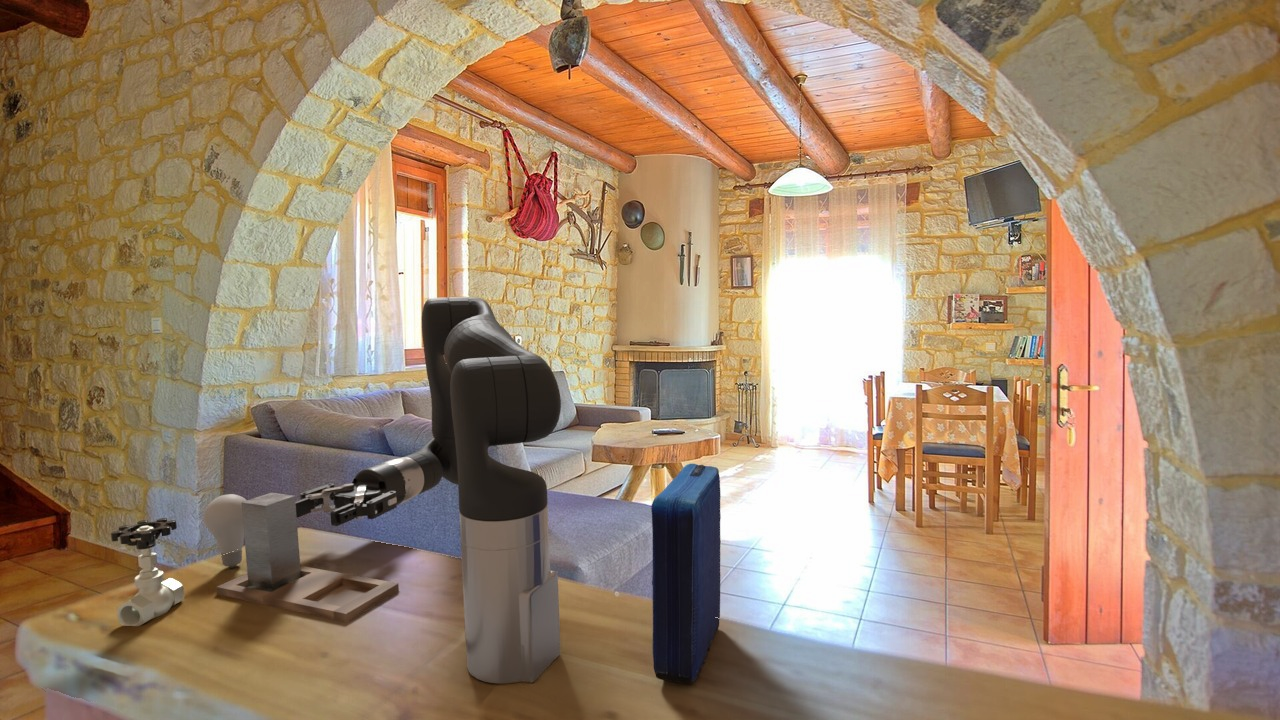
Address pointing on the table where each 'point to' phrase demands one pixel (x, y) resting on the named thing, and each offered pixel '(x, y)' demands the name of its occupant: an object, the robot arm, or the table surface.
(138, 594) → the valve
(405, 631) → the table surface
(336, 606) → the tray
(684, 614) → the blue case
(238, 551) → the lightbulb
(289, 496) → the metal block
